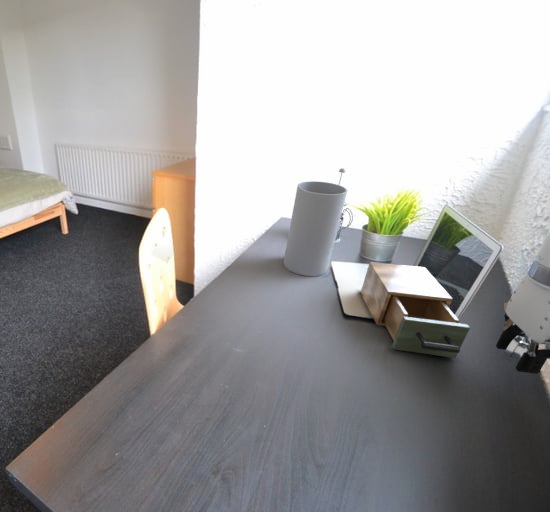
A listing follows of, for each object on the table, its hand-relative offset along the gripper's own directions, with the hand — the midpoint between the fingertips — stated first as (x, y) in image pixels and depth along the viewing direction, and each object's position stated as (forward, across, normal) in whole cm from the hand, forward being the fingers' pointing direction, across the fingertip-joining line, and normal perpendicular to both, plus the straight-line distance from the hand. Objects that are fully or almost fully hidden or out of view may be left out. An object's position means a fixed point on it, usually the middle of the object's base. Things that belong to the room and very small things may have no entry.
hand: (516, 358), depth 68 cm
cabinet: (+5, +20, +12) cm, 25 cm away
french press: (+5, +64, +20) cm, 67 cm away
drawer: (+4, +9, +12) cm, 16 cm away
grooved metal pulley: (+1, 0, 0) cm, 1 cm away
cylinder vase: (+5, +40, +31) cm, 51 cm away
